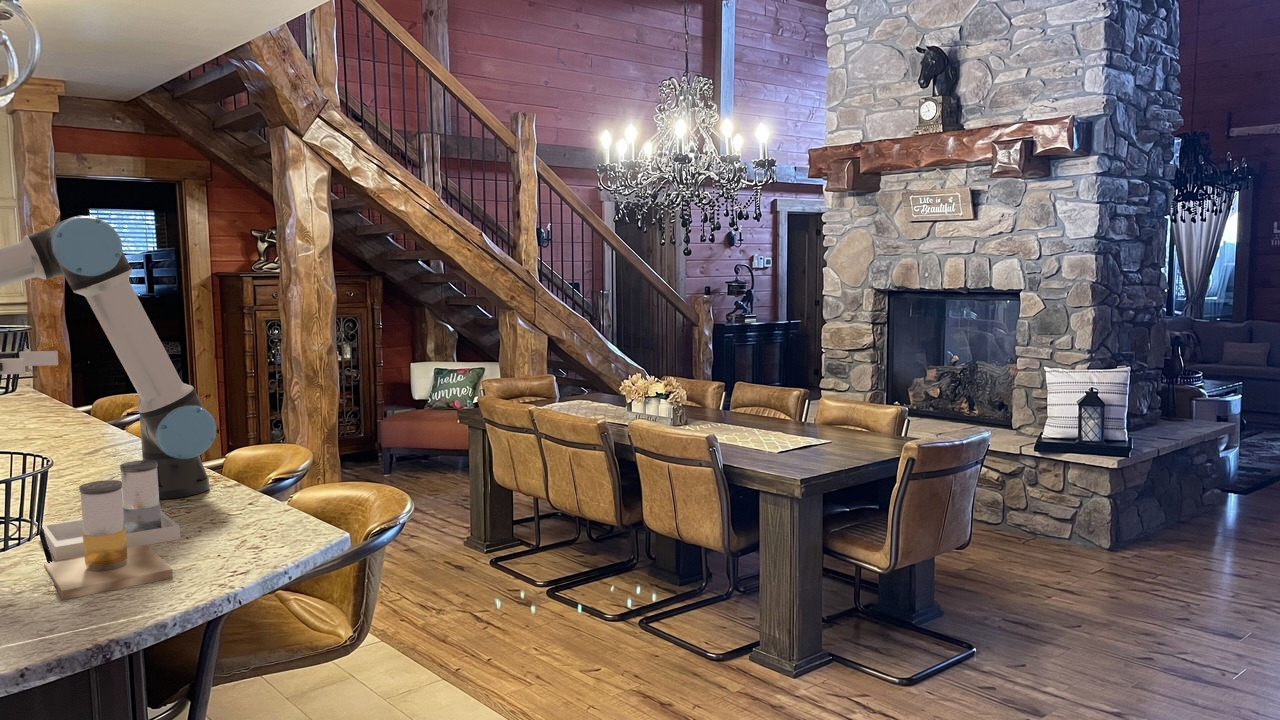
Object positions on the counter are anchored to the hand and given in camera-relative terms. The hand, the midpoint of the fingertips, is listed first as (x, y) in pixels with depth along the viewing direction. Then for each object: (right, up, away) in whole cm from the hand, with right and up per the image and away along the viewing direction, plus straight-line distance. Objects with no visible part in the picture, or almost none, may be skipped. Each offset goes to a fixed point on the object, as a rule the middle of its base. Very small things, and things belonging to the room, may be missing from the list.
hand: (41, 361), depth 180 cm
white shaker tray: (+13, -34, +1) cm, 36 cm away
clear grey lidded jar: (+18, -33, +2) cm, 38 cm away
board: (+22, -36, -17) cm, 45 cm away
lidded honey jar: (+21, -34, -17) cm, 44 cm away
